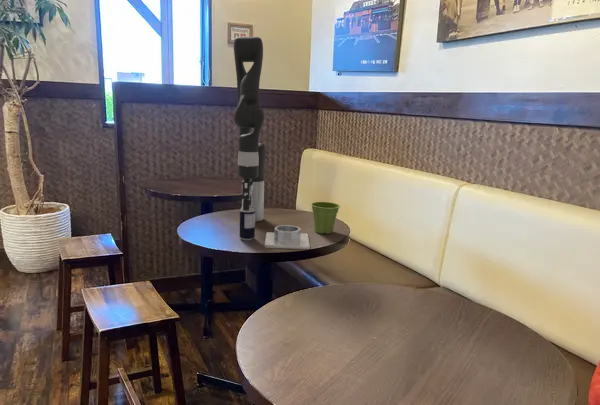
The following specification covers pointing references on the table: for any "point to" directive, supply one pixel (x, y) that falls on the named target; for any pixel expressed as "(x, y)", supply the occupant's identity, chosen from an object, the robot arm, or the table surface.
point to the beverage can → (247, 223)
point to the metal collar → (287, 238)
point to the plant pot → (324, 216)
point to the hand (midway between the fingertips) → (247, 207)
